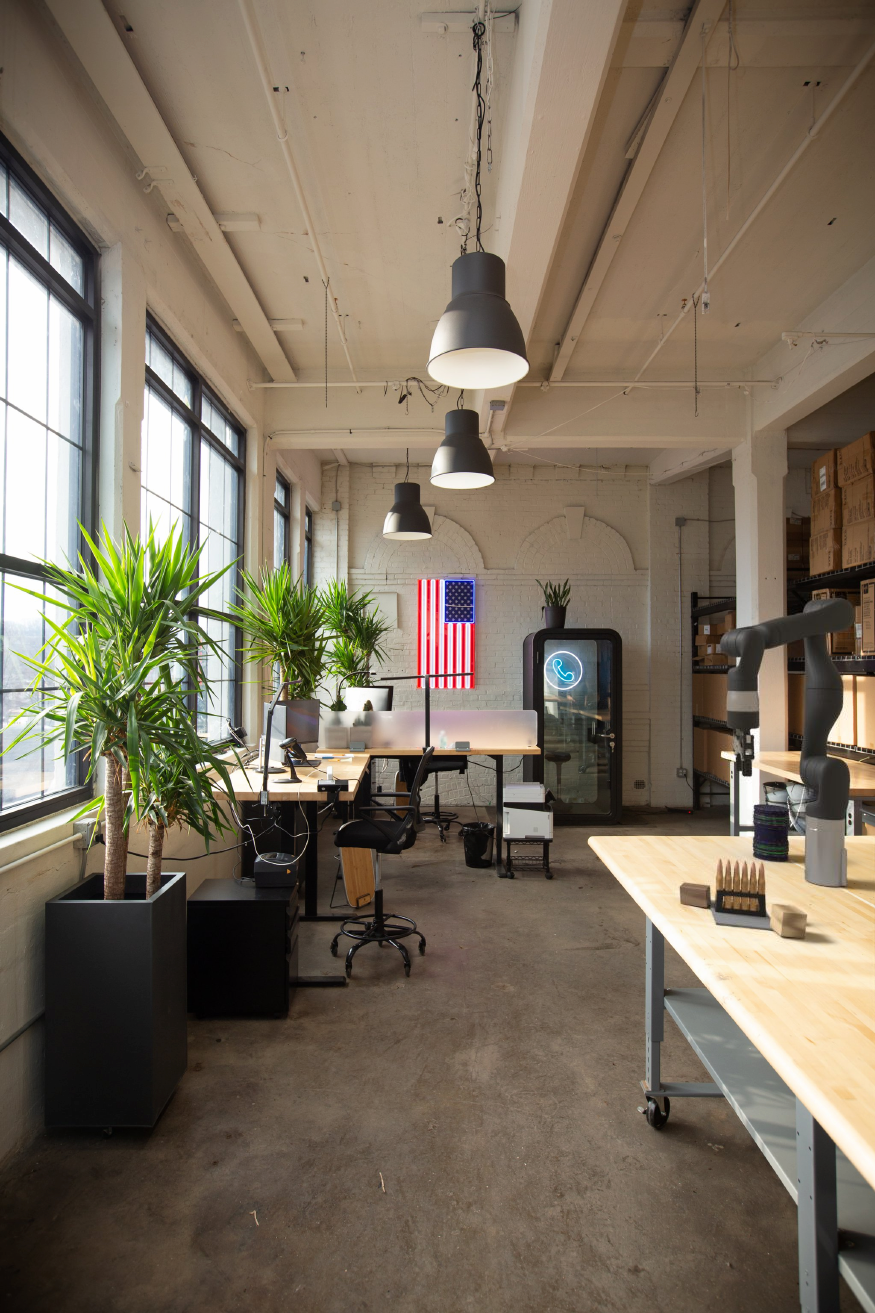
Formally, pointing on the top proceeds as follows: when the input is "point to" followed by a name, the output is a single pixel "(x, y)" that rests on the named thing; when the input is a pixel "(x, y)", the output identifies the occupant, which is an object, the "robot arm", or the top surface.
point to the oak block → (788, 921)
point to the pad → (740, 919)
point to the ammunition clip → (747, 893)
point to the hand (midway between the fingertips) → (743, 773)
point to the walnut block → (695, 894)
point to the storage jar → (771, 833)
